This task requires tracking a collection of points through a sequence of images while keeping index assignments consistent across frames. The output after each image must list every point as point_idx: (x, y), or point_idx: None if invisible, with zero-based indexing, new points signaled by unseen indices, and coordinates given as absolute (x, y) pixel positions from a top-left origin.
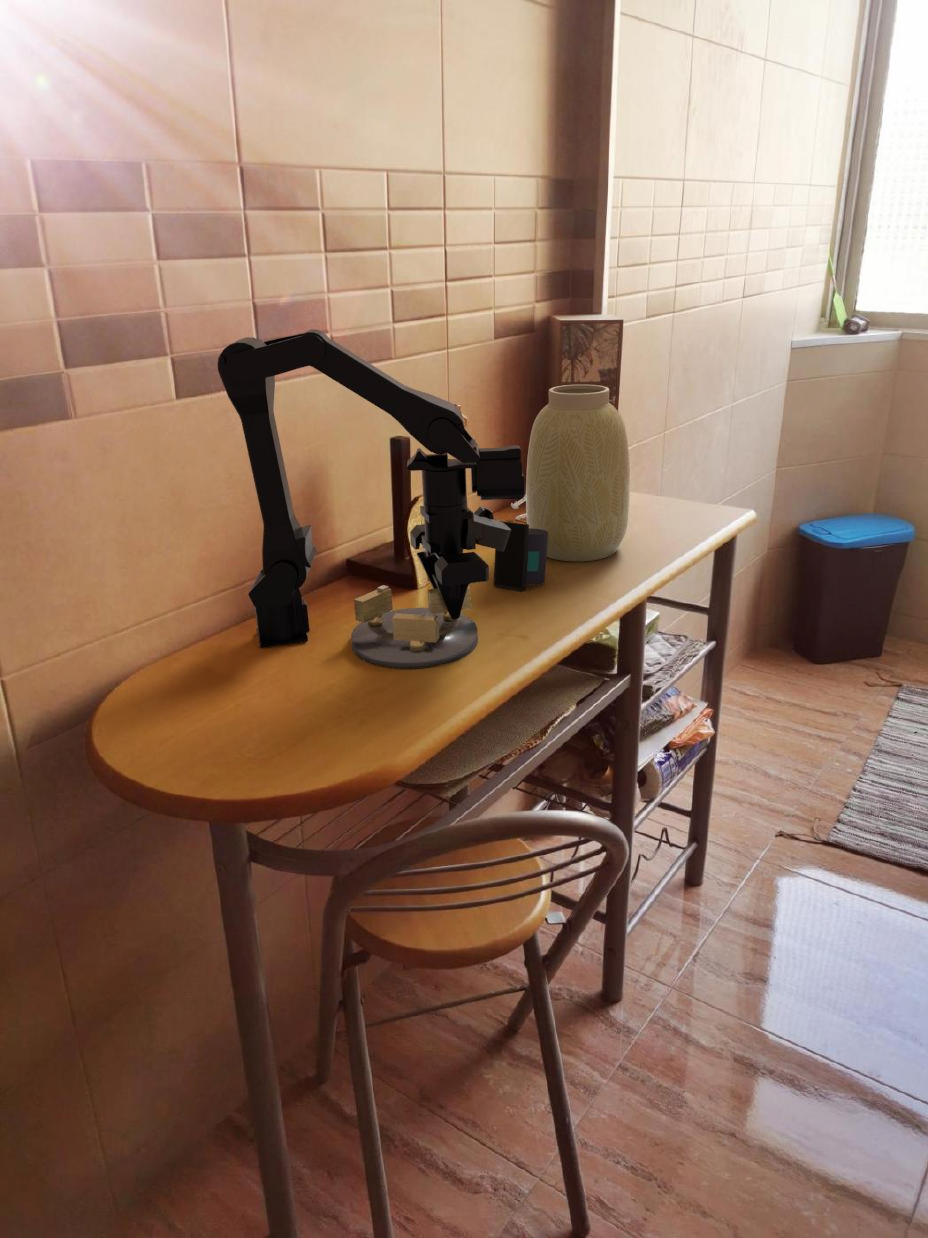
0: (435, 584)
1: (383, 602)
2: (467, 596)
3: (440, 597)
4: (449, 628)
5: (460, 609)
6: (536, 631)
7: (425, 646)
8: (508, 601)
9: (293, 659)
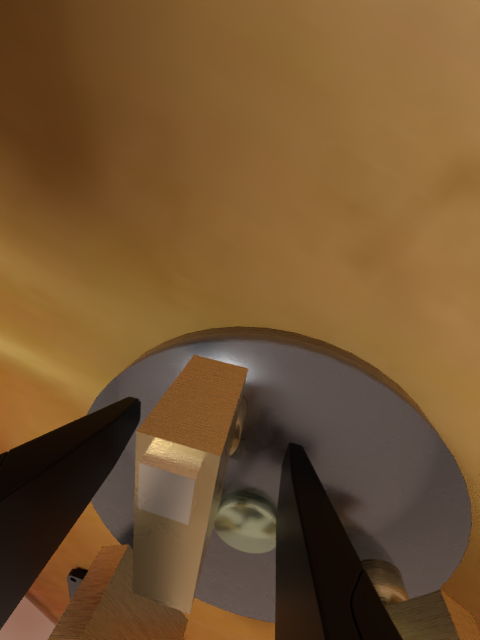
0: (65, 525)
1: (126, 617)
2: (230, 428)
3: (205, 550)
4: (287, 441)
5: (320, 486)
6: (464, 73)
7: (371, 550)
8: (55, 32)
9: (210, 632)
